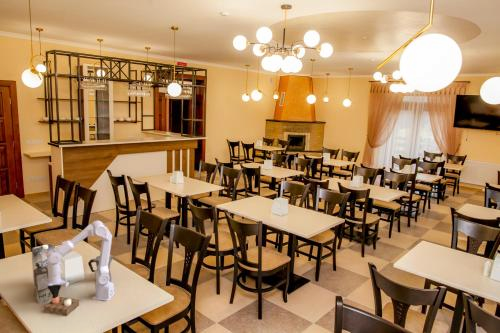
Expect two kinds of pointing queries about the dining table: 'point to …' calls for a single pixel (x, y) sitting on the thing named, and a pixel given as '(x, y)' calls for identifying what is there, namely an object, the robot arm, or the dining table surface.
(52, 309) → the socket board
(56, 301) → the rust plug
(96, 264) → the coffeepot
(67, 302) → the cream plug
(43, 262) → the juice carton
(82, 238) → the robot arm
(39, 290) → the coffee box
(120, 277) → the dining table surface
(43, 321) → the dining table surface
